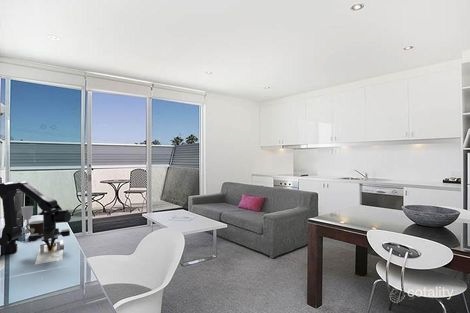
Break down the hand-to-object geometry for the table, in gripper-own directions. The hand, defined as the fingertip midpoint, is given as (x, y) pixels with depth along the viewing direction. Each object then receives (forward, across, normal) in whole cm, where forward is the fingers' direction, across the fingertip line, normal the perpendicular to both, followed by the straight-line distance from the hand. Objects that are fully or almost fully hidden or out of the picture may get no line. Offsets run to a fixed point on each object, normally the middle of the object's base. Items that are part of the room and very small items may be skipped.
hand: (50, 250), depth 147 cm
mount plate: (+2, 0, +4) cm, 4 cm away
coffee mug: (+1, -10, +42) cm, 44 cm away
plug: (+1, 0, +8) cm, 8 cm away
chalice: (+1, -16, +58) cm, 61 cm away
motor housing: (+1, 0, +4) cm, 5 cm away
